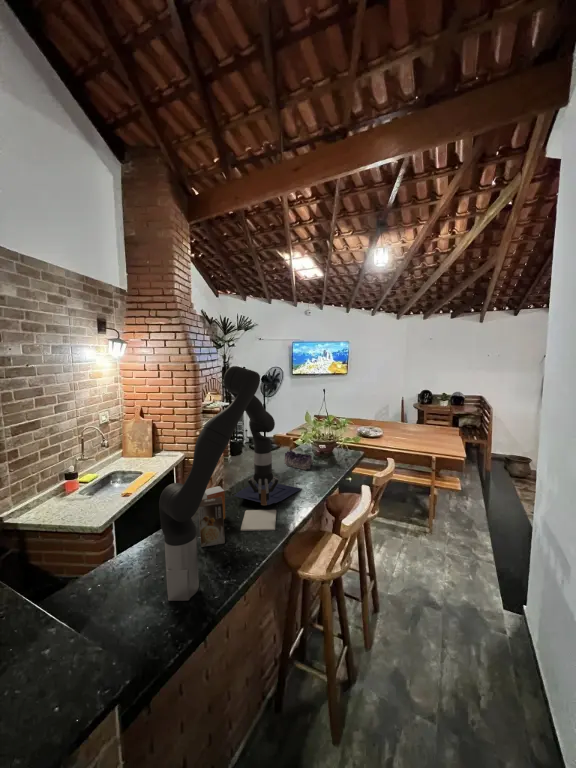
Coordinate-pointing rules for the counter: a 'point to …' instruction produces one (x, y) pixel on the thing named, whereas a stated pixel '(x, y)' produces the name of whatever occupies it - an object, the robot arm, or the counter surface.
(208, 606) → the counter surface
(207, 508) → the coffee box
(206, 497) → the small box
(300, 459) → the geode
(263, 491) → the slab
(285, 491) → the navy rectangular panel
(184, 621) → the counter surface
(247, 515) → the mat
